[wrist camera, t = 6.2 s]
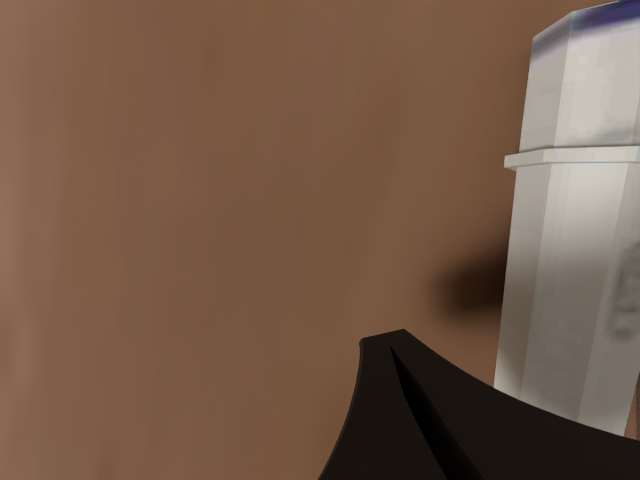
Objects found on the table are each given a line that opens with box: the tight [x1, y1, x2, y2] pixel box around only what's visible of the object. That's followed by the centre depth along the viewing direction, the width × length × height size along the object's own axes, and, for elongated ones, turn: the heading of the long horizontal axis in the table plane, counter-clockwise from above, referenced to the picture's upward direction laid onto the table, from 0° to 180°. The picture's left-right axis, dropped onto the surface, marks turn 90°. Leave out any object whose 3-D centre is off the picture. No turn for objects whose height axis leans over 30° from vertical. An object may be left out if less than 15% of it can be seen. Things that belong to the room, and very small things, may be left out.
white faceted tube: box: [494, 0, 640, 436], centre depth 13 cm, size 5×7×25 cm
